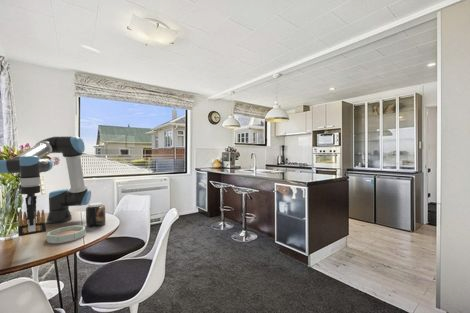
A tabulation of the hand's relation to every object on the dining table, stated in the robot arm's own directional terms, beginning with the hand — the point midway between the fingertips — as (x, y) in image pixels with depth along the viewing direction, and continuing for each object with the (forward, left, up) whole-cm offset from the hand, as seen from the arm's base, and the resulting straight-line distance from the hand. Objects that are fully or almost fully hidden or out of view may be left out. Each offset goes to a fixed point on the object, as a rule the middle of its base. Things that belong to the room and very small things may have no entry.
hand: (32, 230), depth 118 cm
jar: (-31, +30, -11) cm, 44 cm away
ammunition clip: (0, 0, -2) cm, 2 cm away
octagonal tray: (-14, +14, -11) cm, 22 cm away
